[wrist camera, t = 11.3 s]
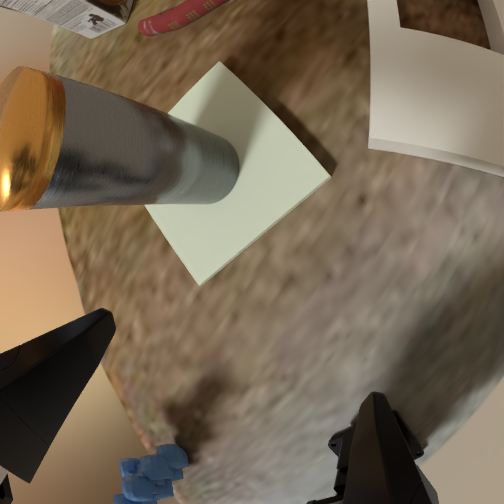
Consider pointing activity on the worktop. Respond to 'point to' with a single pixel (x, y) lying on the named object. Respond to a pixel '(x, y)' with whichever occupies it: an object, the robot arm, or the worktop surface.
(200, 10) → the pliers
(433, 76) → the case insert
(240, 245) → the mat
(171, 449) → the grapes
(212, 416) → the worktop surface
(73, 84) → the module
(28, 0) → the coffee box
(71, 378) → the robot arm
